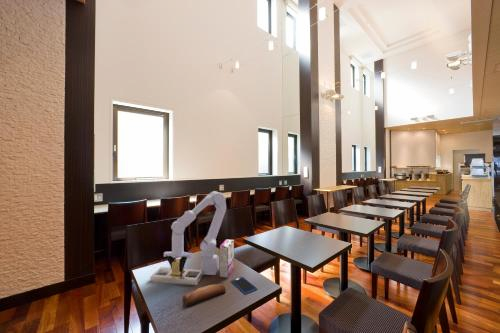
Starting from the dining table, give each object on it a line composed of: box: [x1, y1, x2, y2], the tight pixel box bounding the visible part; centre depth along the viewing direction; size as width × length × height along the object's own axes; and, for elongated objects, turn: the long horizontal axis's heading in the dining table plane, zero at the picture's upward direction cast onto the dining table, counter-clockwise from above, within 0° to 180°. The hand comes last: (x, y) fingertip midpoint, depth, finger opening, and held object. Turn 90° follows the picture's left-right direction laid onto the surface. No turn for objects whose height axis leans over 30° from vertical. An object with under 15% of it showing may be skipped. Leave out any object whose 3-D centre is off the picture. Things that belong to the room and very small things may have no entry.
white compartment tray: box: [149, 266, 204, 286], centre depth 110 cm, size 24×10×2 cm, turn 83°
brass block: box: [172, 258, 183, 277], centre depth 110 cm, size 4×4×8 cm
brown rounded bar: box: [182, 283, 226, 307], centre depth 96 cm, size 18×7×7 cm
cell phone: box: [230, 276, 258, 295], centre depth 104 cm, size 7×14×1 cm, turn 34°
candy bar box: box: [219, 239, 235, 279], centre depth 116 cm, size 11×5×16 cm, turn 168°
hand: (177, 270), depth 110 cm, fingers closed on brass block, 4 cm apart
